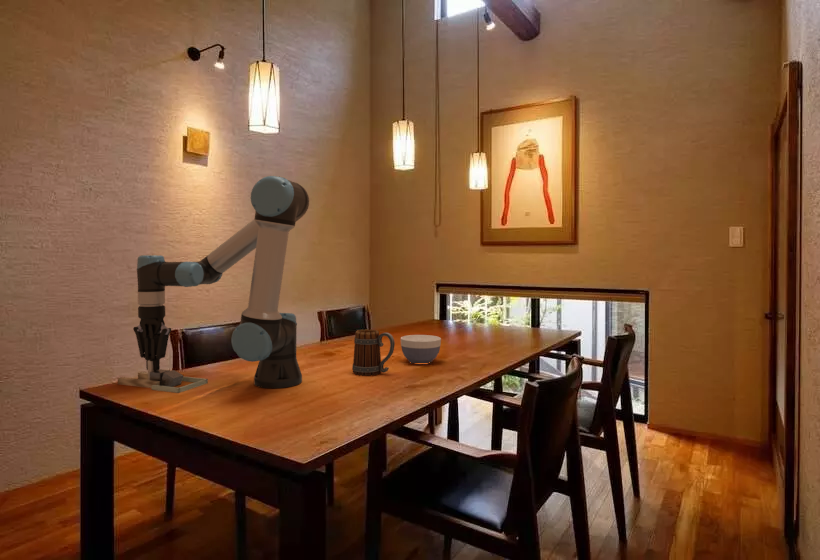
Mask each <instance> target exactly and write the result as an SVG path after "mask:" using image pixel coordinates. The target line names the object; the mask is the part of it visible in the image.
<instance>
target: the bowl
mask: <svg viewBox="0 0 820 560" xmlns="http://www.w3.org/2000/svg"><path fill="white" fill-rule="evenodd" d="M441 343H442V338H441V337H439V336H436V335H431V334H430V335H429V334H428V335H427V334H410V335H404V336H401V337H400V347H401V352H402V354H403V355H404V358H405V359H406V360H408V362H409V363H410V362H411V363H410V364H412V363H429V362H432V363H433V361H434V360H435V359H436V358H437V357H438V354H439V353H440V351H441V350H440V349H441Z"/></svg>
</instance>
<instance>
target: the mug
mask: <svg viewBox="0 0 820 560" xmlns="http://www.w3.org/2000/svg"><path fill="white" fill-rule="evenodd" d="M383 337H386V338H388V340H389V343H390V345H389V351H388V353H387V355H386V356H385V357H384V358H383V359H382V357H381V347H383V346H384V343H383ZM353 341H354V349H353V361H352V369H351V370H352V373H353V374H354V375H356V376H360V375H362V376H361V377H369V376H370V377H371V375H373V376H378V375H380V374H381V373H386V372H388V371H389V367H390V366H389V367H388V366H386V367H384V366H385V364H386V362H387V361H388V360H389V359H390V358H391V357H392V355H393V354H394V351H395V339H394V336H393V335H392V334H391V333H389V332H382V333H380V332H379V330H377V329H357V330H356V331H355V335H354V340H353ZM379 373H380V374H379ZM377 374H378V375H377Z"/></svg>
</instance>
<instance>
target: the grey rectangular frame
mask: <svg viewBox="0 0 820 560" xmlns="http://www.w3.org/2000/svg"><path fill="white" fill-rule="evenodd" d="M208 381H209V380H208V378H205V377H203V378H201V377H194V376H193V377H191V376H184V375H183V379H182V382H186V383H187V382H188V383H189V384H186V385H183V386H180V387H177V386H174V387H167V386H159V385H152V388H151V390H152V391H157V392H165V393H166V392H167V393H168V392H169V393H175V394H180V393H184V392H186V391H189V390H192V389H195V388H198V387H201V386H203V385H207V384H208Z"/></svg>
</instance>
